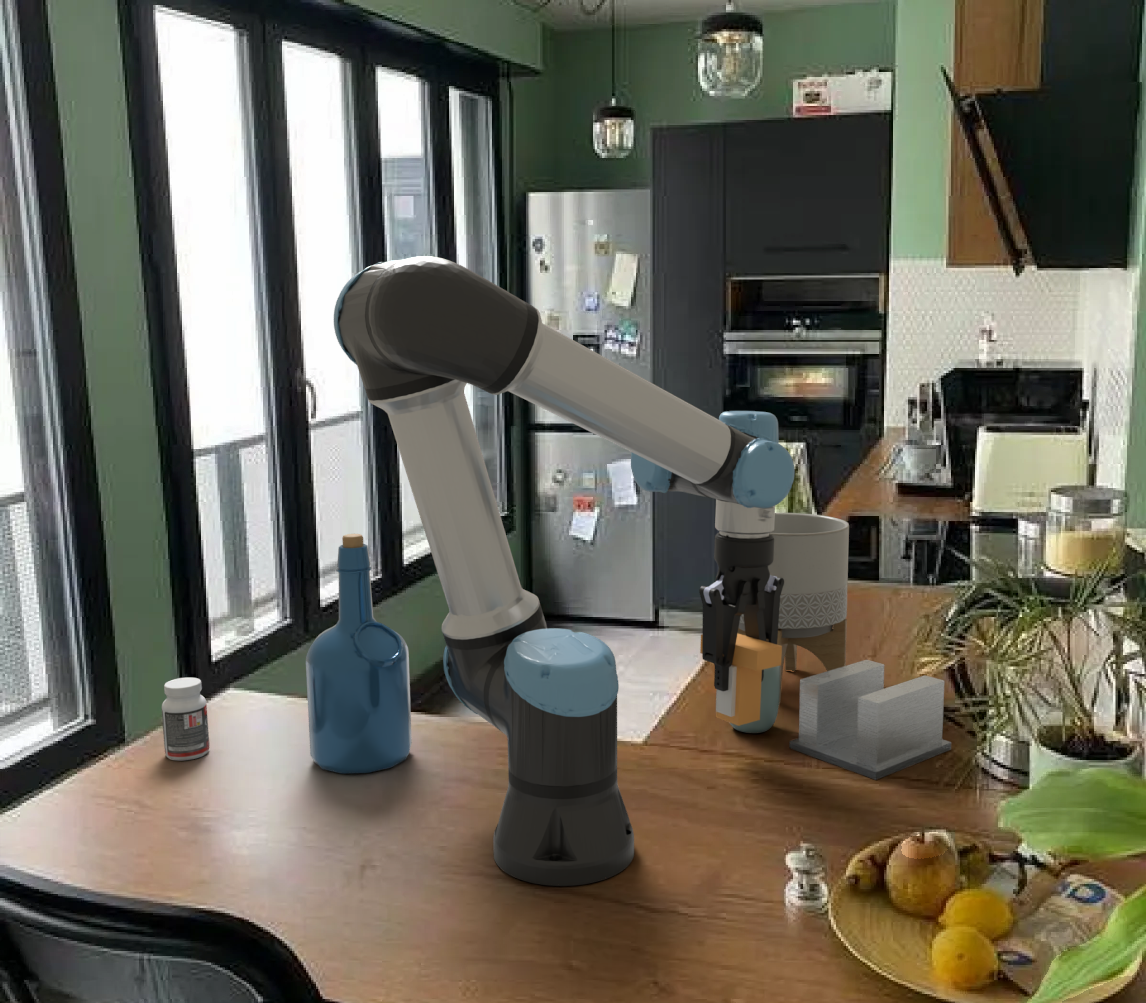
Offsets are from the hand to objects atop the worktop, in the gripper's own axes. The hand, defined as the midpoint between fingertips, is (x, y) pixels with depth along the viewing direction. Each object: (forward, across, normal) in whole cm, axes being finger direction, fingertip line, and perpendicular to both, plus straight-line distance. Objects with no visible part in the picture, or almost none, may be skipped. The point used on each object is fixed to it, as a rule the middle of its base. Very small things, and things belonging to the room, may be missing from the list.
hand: (738, 709), depth 148 cm
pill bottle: (+9, -55, +48) cm, 74 cm away
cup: (+7, +10, +6) cm, 13 cm away
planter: (+6, +28, +16) cm, 32 cm away
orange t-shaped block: (+1, 0, 0) cm, 1 cm away
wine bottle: (+8, -38, +31) cm, 50 cm away
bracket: (+6, +16, -9) cm, 19 cm away
